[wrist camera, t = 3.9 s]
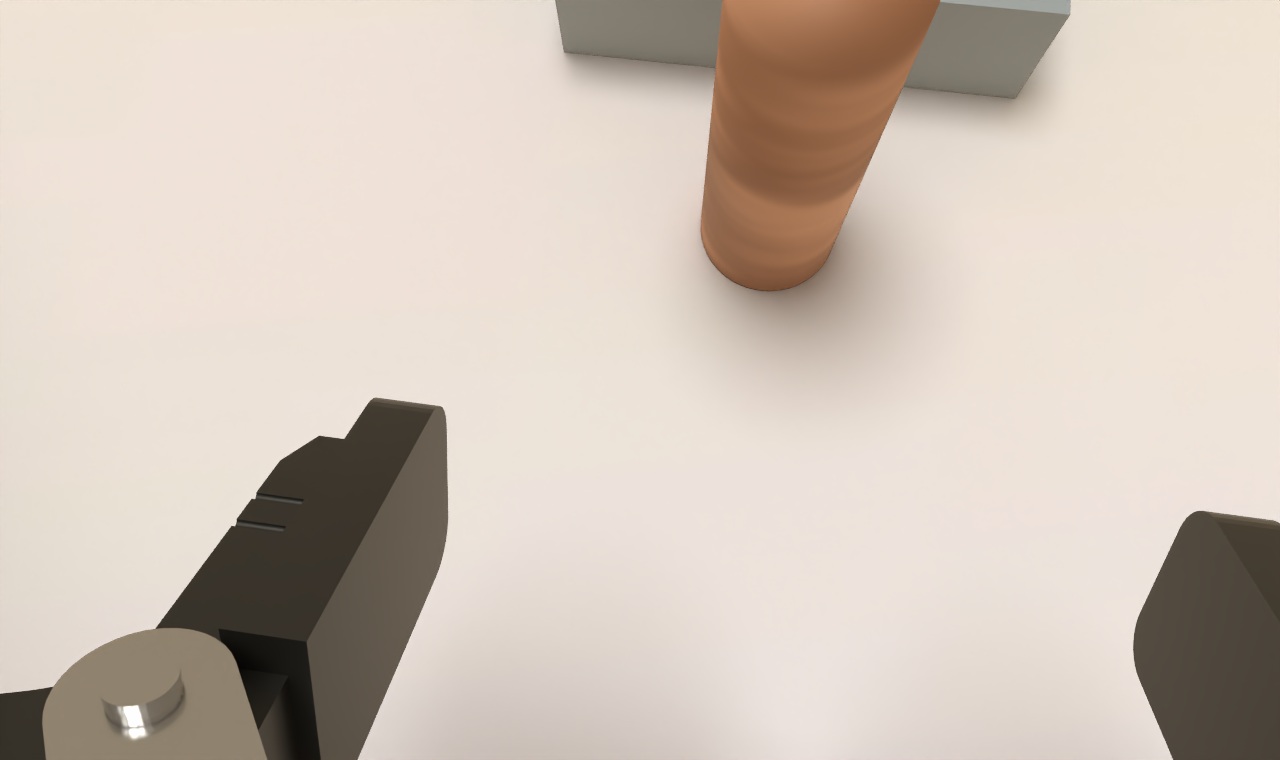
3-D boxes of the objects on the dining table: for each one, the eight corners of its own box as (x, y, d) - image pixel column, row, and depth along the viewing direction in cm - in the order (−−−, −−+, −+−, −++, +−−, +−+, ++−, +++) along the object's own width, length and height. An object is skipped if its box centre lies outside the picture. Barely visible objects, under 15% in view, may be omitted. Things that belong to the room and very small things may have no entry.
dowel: (675, 209, 25) (684, -57, 16) (785, 143, 26) (860, -154, 16) (748, 315, 25) (806, 105, 15) (861, 246, 25) (988, -1, 15)
